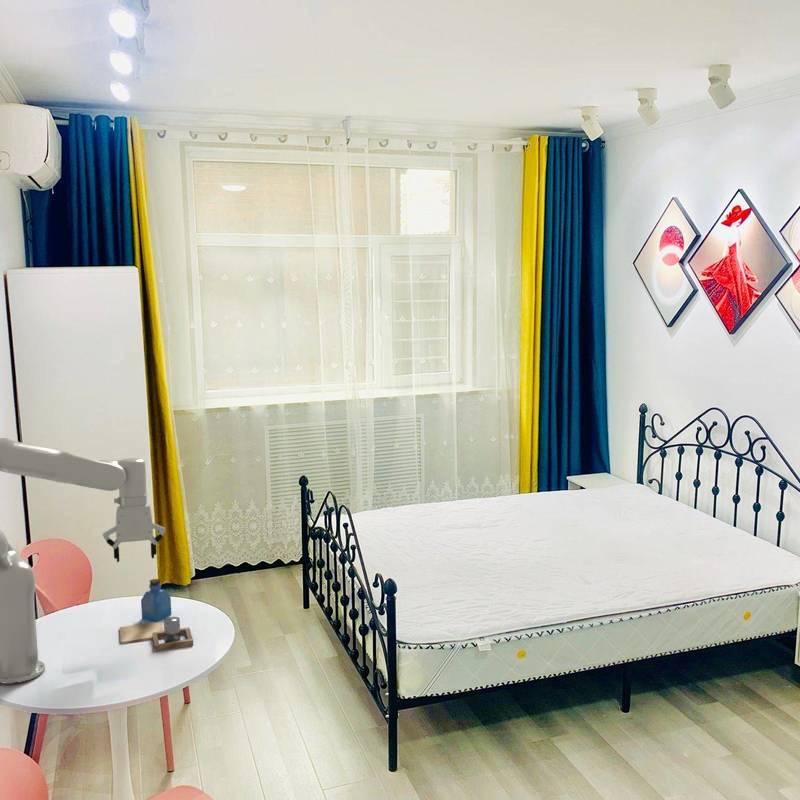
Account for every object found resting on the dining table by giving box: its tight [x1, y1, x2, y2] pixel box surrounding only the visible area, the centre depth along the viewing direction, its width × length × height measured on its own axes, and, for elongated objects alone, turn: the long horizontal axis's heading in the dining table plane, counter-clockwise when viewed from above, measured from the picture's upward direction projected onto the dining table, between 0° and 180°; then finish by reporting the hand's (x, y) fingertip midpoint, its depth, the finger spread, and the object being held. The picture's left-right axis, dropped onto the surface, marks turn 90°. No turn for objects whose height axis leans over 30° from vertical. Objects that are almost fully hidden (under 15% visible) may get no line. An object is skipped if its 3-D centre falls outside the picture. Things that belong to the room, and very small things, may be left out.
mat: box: [119, 620, 165, 645], centre depth 237 cm, size 12×12×1 cm
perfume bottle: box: [140, 578, 172, 623], centre depth 249 cm, size 6×6×12 cm
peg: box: [163, 616, 182, 643], centre depth 230 cm, size 4×4×6 cm
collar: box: [152, 627, 194, 652], centre depth 231 cm, size 10×10×2 cm
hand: (135, 558), depth 235 cm, fingers open, 9 cm apart
